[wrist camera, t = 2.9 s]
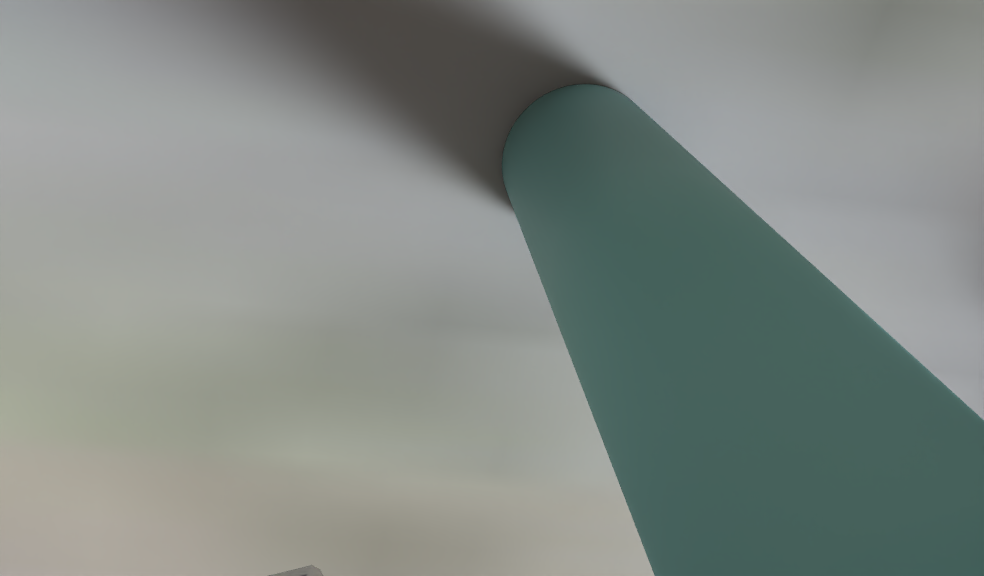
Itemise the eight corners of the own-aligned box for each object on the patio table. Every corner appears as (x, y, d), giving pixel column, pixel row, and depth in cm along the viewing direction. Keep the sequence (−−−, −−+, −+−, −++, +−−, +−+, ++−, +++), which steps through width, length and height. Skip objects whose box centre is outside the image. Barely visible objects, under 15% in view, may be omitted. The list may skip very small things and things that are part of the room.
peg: (643, 66, 16) (1177, 457, 5) (666, 214, 17) (1128, 770, 7) (486, 107, 16) (694, 582, 5) (520, 251, 17) (742, 870, 7)
